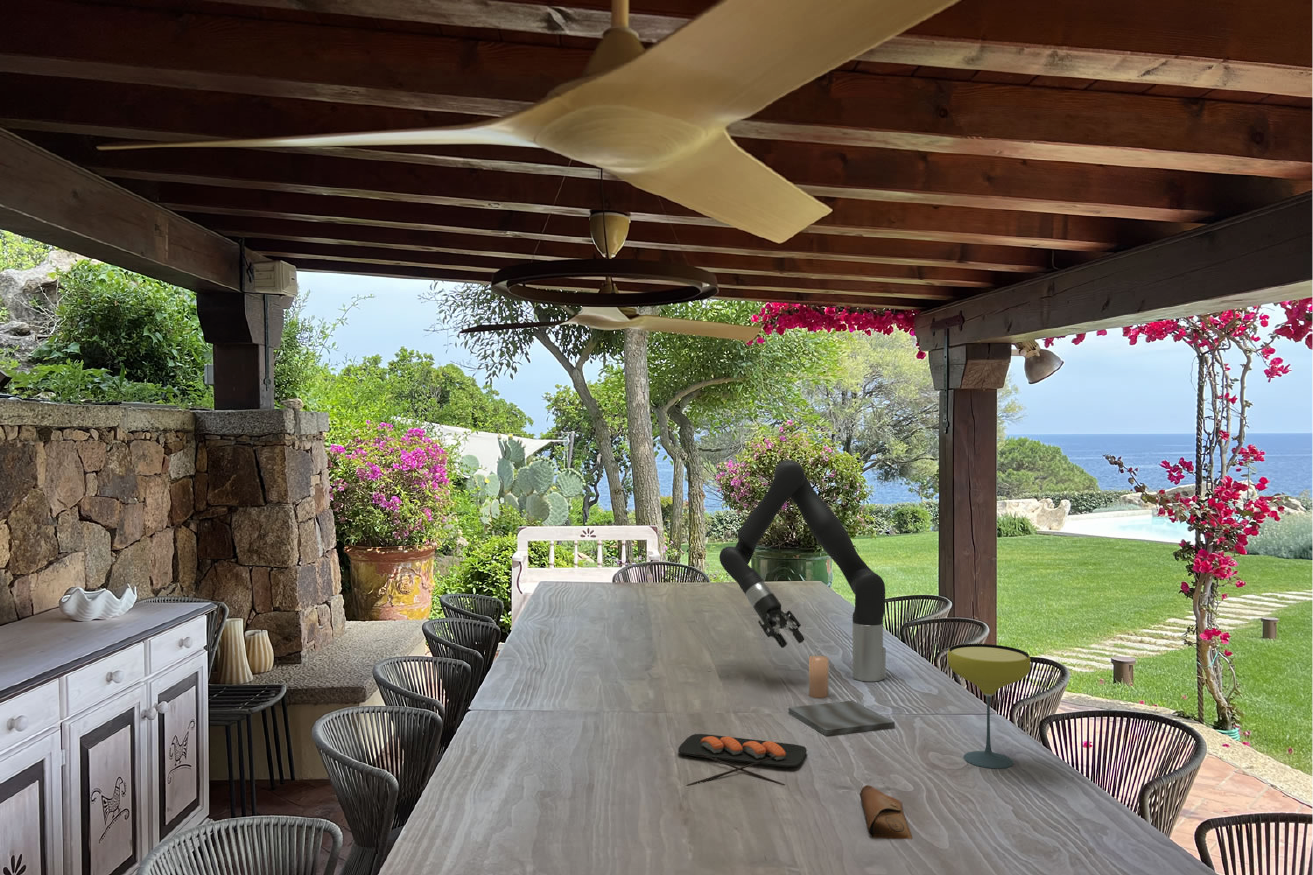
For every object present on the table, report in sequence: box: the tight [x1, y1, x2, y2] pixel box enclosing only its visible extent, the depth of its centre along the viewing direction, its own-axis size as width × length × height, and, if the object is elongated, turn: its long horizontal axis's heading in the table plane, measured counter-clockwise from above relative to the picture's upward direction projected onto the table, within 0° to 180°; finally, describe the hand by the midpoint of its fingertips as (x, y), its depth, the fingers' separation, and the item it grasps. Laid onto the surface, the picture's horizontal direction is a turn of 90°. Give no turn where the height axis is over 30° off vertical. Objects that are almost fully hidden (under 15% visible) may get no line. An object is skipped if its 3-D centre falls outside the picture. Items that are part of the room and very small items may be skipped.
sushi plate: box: [677, 733, 808, 787], centre depth 203 cm, size 29×30×4 cm
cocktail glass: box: [946, 643, 1032, 770], centre depth 207 cm, size 18×18×25 cm
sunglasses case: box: [859, 785, 913, 840], centre depth 175 cm, size 18×7×7 cm, turn 173°
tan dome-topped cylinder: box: [808, 654, 829, 699], centre depth 259 cm, size 6×6×11 cm
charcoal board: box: [788, 700, 896, 737], centre depth 237 cm, size 20×20×2 cm
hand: (793, 643), depth 266 cm, fingers open, 8 cm apart
